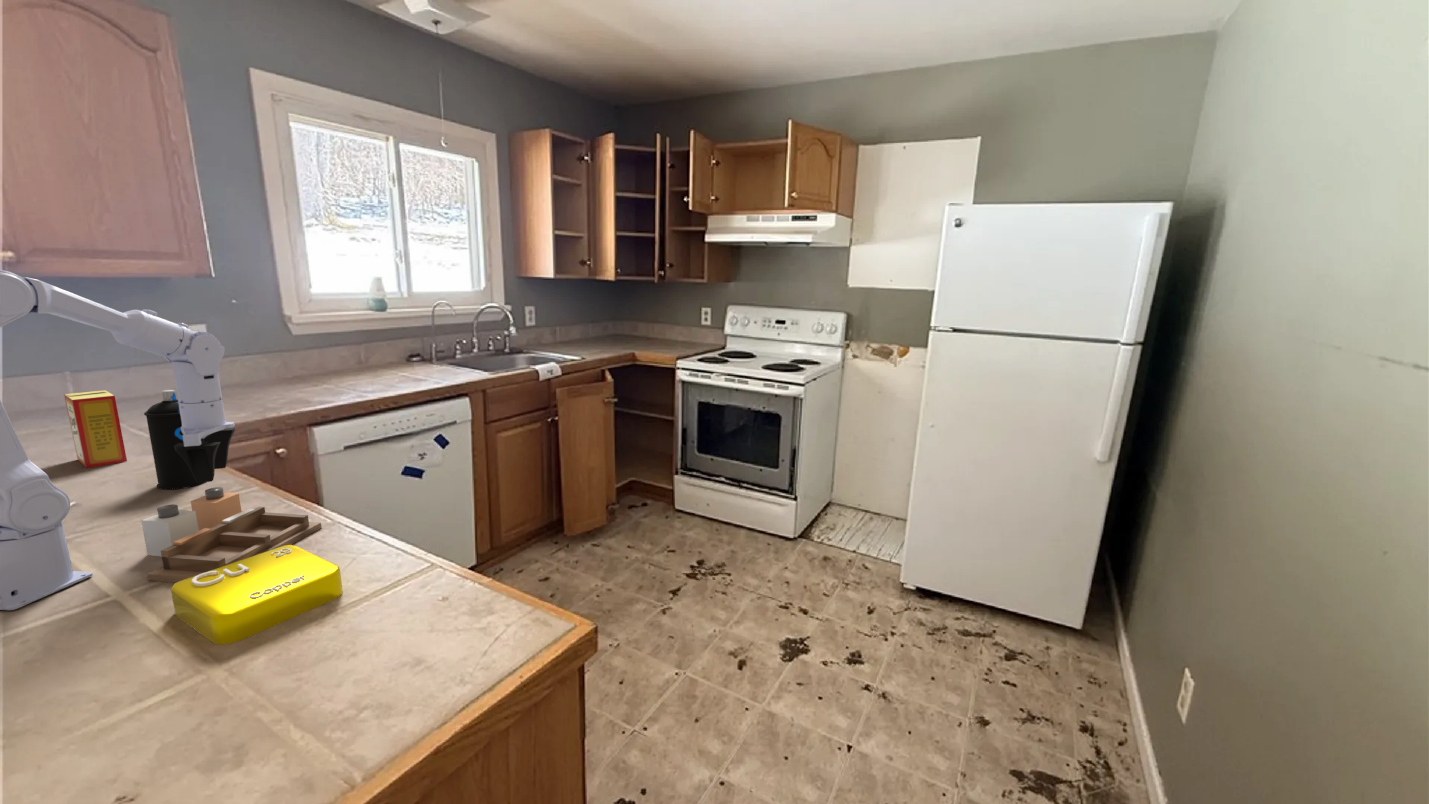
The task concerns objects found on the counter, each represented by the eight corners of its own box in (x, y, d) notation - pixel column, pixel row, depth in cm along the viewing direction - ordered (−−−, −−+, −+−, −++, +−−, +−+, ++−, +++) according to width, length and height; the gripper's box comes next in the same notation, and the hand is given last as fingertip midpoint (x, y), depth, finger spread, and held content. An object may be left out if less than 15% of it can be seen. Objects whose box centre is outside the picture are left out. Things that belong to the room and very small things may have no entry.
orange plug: (220, 535, 98) (214, 495, 97) (196, 533, 99) (189, 493, 97) (243, 524, 103) (237, 485, 101) (220, 523, 103) (213, 484, 101)
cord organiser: (218, 585, 83) (214, 557, 82) (148, 580, 84) (143, 552, 83) (321, 527, 102) (318, 504, 102) (263, 523, 103) (260, 500, 102)
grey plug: (173, 557, 91) (166, 513, 89) (147, 555, 91) (139, 512, 89) (201, 544, 95) (194, 502, 93) (175, 542, 95) (168, 501, 94)
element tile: (221, 651, 70) (215, 616, 69) (170, 614, 77) (163, 581, 76) (349, 595, 82) (345, 564, 81) (294, 567, 89) (291, 539, 88)
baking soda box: (127, 461, 133) (114, 394, 130) (86, 468, 128) (72, 398, 124) (117, 453, 138) (104, 388, 135) (77, 459, 133) (63, 392, 130)
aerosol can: (147, 491, 116) (129, 394, 112) (172, 477, 124) (157, 387, 120) (195, 488, 118) (180, 394, 114) (217, 475, 126) (204, 386, 122)
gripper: (217, 407, 94) (229, 484, 97) (240, 391, 107) (250, 460, 110) (161, 410, 91) (174, 490, 94) (191, 393, 104) (202, 464, 107)
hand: (211, 474), depth 102 cm, fingers open, 7 cm apart
